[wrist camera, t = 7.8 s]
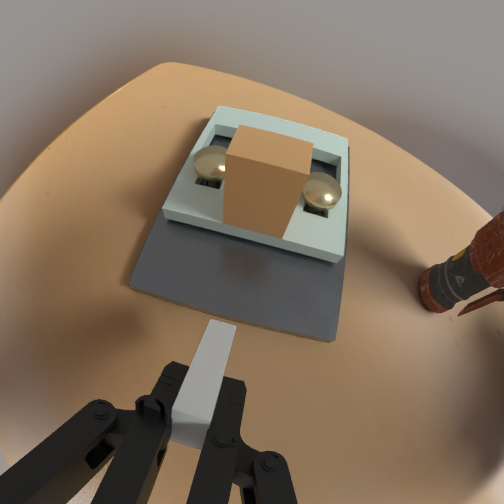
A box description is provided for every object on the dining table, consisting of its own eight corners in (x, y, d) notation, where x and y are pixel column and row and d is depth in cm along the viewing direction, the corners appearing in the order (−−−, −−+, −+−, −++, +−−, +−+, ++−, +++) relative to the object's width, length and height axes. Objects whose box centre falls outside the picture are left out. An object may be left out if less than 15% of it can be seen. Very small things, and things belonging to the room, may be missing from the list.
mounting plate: (345, 154, 33) (359, 125, 28) (328, 342, 23) (355, 333, 18) (214, 120, 33) (214, 88, 28) (133, 289, 23) (112, 268, 18)
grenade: (433, 338, 23) (544, 295, 10) (406, 278, 26) (505, 204, 13) (459, 314, 25) (554, 267, 11) (433, 260, 28) (519, 193, 14)
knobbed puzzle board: (343, 147, 31) (372, 87, 22) (336, 263, 24) (391, 203, 15) (218, 115, 31) (221, 48, 22) (165, 217, 24) (143, 139, 15)
